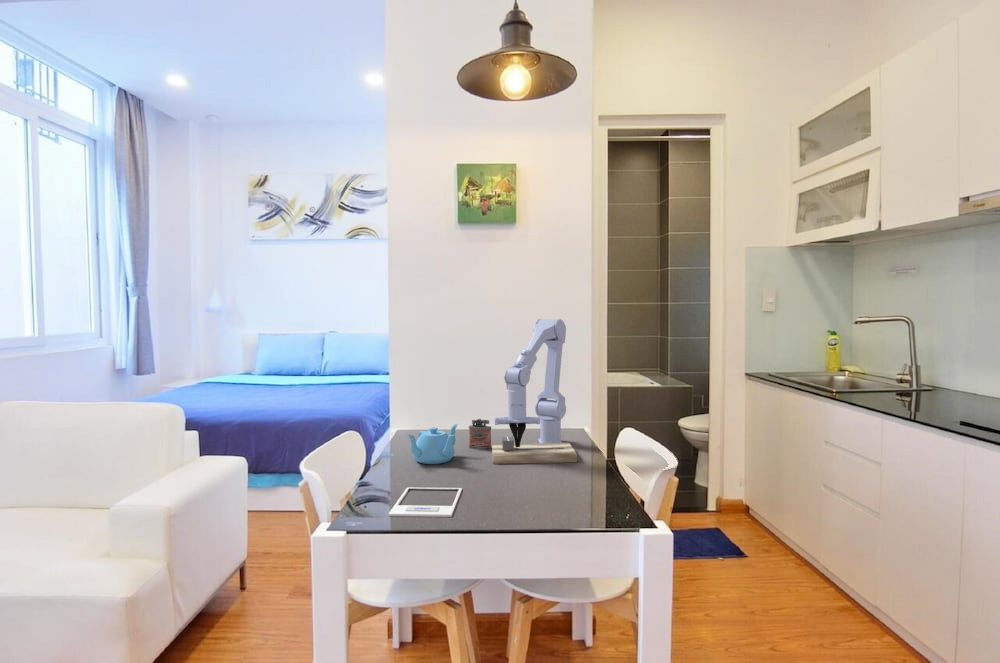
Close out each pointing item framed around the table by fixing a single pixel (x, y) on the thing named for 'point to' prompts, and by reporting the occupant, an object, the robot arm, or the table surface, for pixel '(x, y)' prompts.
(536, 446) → the console board
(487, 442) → the lighter
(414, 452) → the teapot
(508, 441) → the fader
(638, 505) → the table surface
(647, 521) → the table surface
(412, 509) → the photo frame
